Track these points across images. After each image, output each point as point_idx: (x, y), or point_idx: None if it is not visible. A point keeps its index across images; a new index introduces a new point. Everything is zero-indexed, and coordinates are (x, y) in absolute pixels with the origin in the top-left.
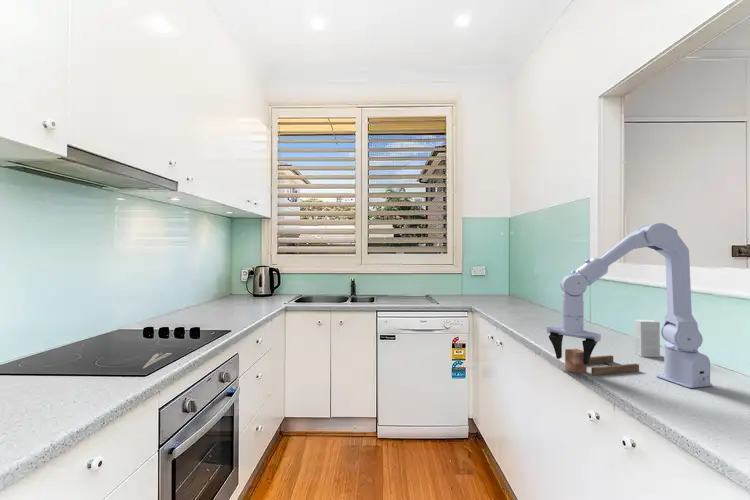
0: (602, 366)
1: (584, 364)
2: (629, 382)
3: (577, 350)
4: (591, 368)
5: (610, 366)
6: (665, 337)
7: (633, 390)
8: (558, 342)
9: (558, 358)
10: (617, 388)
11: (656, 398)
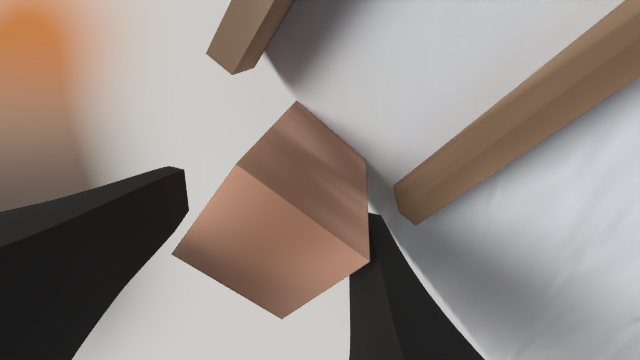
0: (488, 147)
1: None
2: (596, 222)
3: (274, 243)
4: (398, 207)
5: (571, 106)
6: None
7: (557, 309)
8: (61, 323)
9: (185, 213)
10: (489, 310)
11: (619, 347)
